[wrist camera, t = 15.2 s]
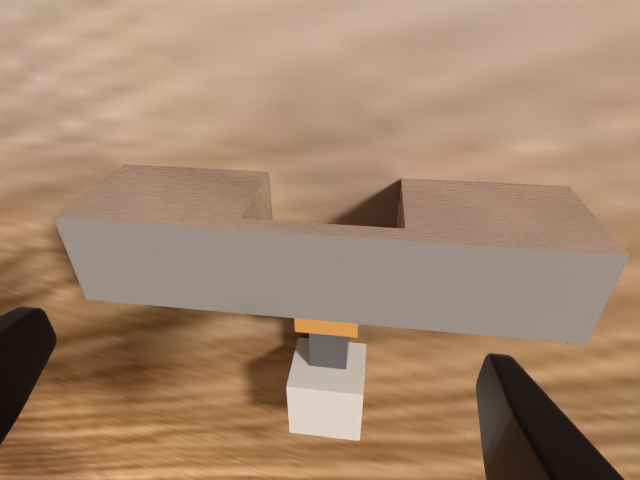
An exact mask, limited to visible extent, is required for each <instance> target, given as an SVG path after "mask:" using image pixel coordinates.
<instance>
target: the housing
mask: <svg viewBox="0 0 640 480" xmlns="http://www.w3.org/2000/svg"><path fill="white" fill-rule="evenodd" d="M53 219H54V221H55V224H56V226H57V228H58V231H59V233H60V236H61V238H62V241H63V243H64V246H65V248H66V251H67V253H68V256H69V258H70V261H71V263H72V266H73V268H74V271H75V273H76V276H77V278H78V280H79V283H80V285H81V288H82V290H83V293H84V295H85V298H86V300H97V301H108V302H120V303H131V304H142V305H153V306H164V307H175V308H186V309H197V310H209V311H220V312H231V313H242V314H253V315H264V316H275V317H286V318H298V319H309V320H320V321H331V322H342V323H353V324H364V325H375V326H387V327H398V328H409V329H420V330H431V331H442V332H453V333H464V334H476V335H487V336H498V337H509V338H520V339H531V340H542V341H553V342H565V343H576V344H587V343H588V341H589V339H590V337H591V334H592V332H593V330H594V328H595V326H596V324H597V322H598V320H599V318H600V316H601V314H602V312H603V309H604V307H605V305H606V303H607V301H608V299H609V297H610V295H611V293H612V291H613V289H614V287H615V284H616V282H617V280H618V278H619V276H620V274H621V272H622V270H623V268H624V266H625V264H626V262H627V260H628V257H629V254H628V253H627V252H626V251H625V250H624V249H623V247H622V246H621V245H620V244H619V243H618V242H617V241H616V239H615V238H614V237H613V236H612V235H611V234H610V233H609V231H608V230H607V229H606V228H605V227H604V226H603V225H602V223H601V222H600V221H599V220H598V219H597V218H596V216H595V215H594V214H593V213H592V212H591V211H590V210H589V208H588V207H587V206H586V205H585V204H584V203H583V202H582V200H581V199H580V198H579V197H578V196H577V195H576V194H575V192H574V191H573V190H572V189H571V188H570V187H558V186H537V185H517V184H496V183H476V182H455V181H435V180H414V179H401V187H400V196H399V205H398V215H397V224H396V228H386V227H370V226H354V225H338V224H322V223H306V222H290V221H275V220H272V213H271V200H270V187H269V174H268V172H251V171H230V170H210V169H190V168H169V167H149V166H128V165H125V166H123V167H122V168H121V169H119V170H118V171H116V172H115V173H114V174H112V175H111V176H110V177H108V178H107V179H105V180H104V181H103V182H101V183H100V184H99V185H97V186H96V187H94V188H93V189H92V190H90V191H89V192H88V193H86V194H85V195H83V196H82V197H81V198H79V199H78V200H77V201H75V202H74V203H72V204H71V205H70V206H68V207H67V208H66V209H64V210H63V211H61V212H60V213H59V214H57V215H56V216H54V217H53Z"/></svg>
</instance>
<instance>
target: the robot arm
mask: <svg viewBox="0 0 640 480" xmlns="http://www.w3.org/2000/svg"><path fill="white" fill-rule="evenodd" d="M55 345H56V334H55V332H54V330H53V327H52V325H51V323H50V321H49V319H48V317H47V315H46V313H45V311H44V310H42V309H40V308H34V307H19V308H16V309H14V310H12V311H10V312H8V313H6V314H4V315H2V316H0V445H1V443H2V442H3V440H4V439H5V437H6V435H7V434H8V432H9V431H10V429H11V428H12V426H13V424H14V423H15V421H16V420H17V418H18V416H19V415H20V413H21V411H22V409H23V407H24V406H25V404H26V402H27V400H28V398H29V396H30V394H31V392H32V390H33V388H34V386H35V384H36V383H37V381H38V379H39V377H40V375H41V373H42V371H43V369H44V367H45V365H46V363H47V361H48V359H49V357H50V356H51V354H52V352H53V350H54V348H55ZM476 395H477V404H478V413H479V423H480V432H481V441H482V450H483V459H484V467H485V474H486V479H487V480H624V479H623V477H622V476H621V475H620V474H619V473H618V472H617V471H616V470H615V469H614V468H613V467H612V465H611V464H610V463H609V462H608V461H607V460H606V459H605V458H604V457H603V456H602V455H601V453H600V452H599V451H598V450H597V449H596V448H595V447H594V446H593V445H592V444H591V442H590V441H589V440H588V439H587V438H586V437H585V436H584V435H583V434H582V433H581V432H580V430H579V429H578V428H577V427H576V426H575V425H574V424H573V423H572V422H571V421H570V420H569V418H568V417H567V416H566V415H565V414H564V413H563V412H562V411H561V410H560V409H559V408H558V406H557V405H556V404H555V403H554V402H553V401H552V400H551V399H550V398H549V397H548V396H547V394H546V393H545V392H544V391H543V390H542V389H541V388H540V387H539V386H538V385H537V384H536V382H535V381H534V380H533V379H532V378H531V377H530V376H529V375H528V374H527V373H526V371H525V370H524V369H523V368H522V367H521V366H520V365H519V364H518V363H517V362H516V361H515V359H514V358H512V357H511V356H509V355H504V354H494V353H490V354H488V355H487V356H486V357H485V360H484V362H483V365H482V368H481V371H480V374H479V376H478V379H477V384H476Z"/></svg>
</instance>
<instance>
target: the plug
mask: <svg viewBox="0 0 640 480" xmlns="http://www.w3.org/2000/svg"><path fill="white" fill-rule="evenodd" d="M294 322H295V332H302V333H309V338H299V337H298V340H297V344H296V349H295V353H294V357H293V361H292V365H291V369H290V373H289V377H288V382H287V386H286V389H287V403H288V416H289V430H290V432H292V433H300V434H308V435H316V436H324V437H332V438H340V439H349V440H357V441H360V432H361V419H362V407H363V394H364V376H365V357H366V344H361V343H351V342H349V337H355V338H357V334H358V324H353V323H342V322H331V321H320V320H309V319H298V318H294Z"/></svg>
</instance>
